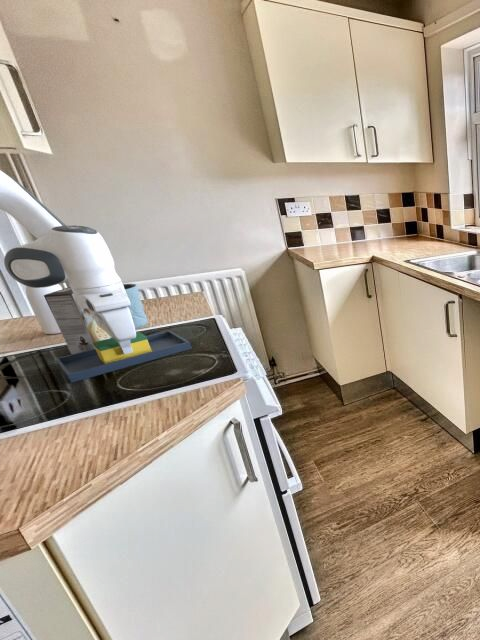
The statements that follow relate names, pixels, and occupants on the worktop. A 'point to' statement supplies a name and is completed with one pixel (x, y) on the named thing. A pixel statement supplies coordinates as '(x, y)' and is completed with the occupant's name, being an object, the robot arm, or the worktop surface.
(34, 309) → the milk bottle
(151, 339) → the tray
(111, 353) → the sponge
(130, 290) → the light blue textured cup
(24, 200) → the robot arm
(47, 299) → the coffee box
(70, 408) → the worktop surface
